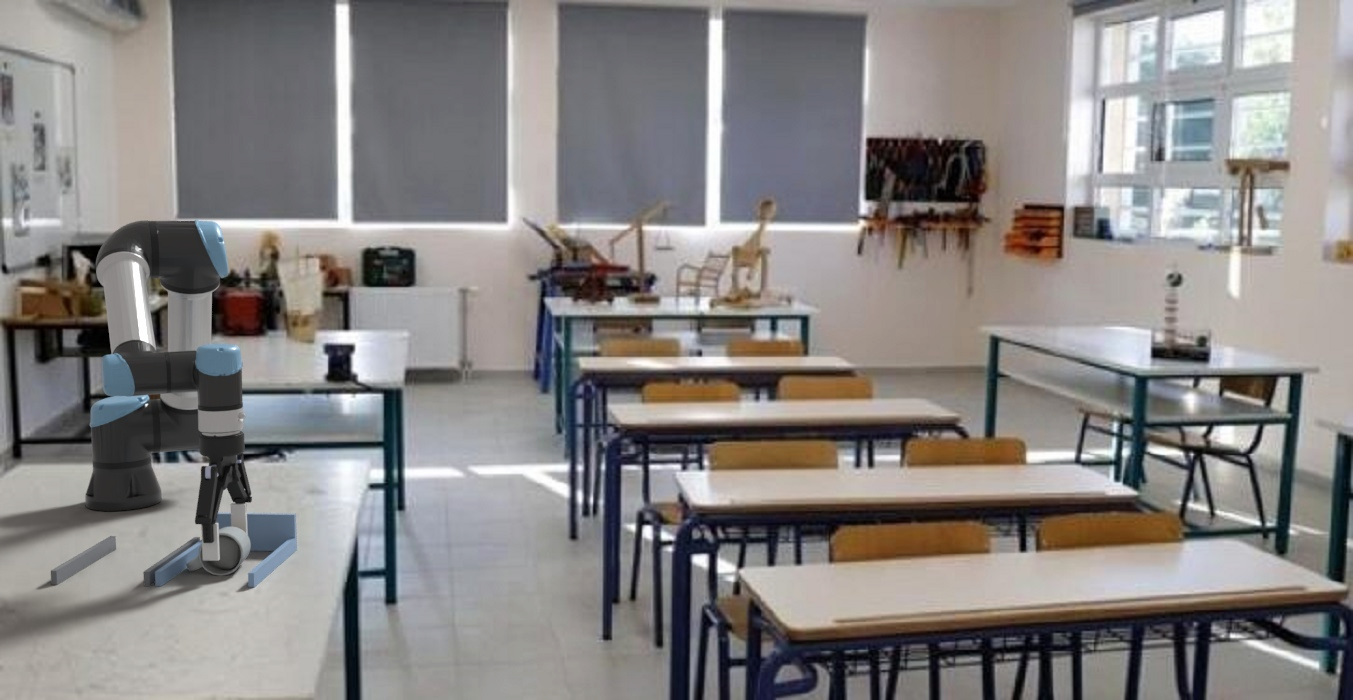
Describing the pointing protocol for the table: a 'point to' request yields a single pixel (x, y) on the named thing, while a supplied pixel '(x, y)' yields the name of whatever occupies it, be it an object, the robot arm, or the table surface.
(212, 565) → the ceramic mug
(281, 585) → the table surface
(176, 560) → the frame
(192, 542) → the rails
